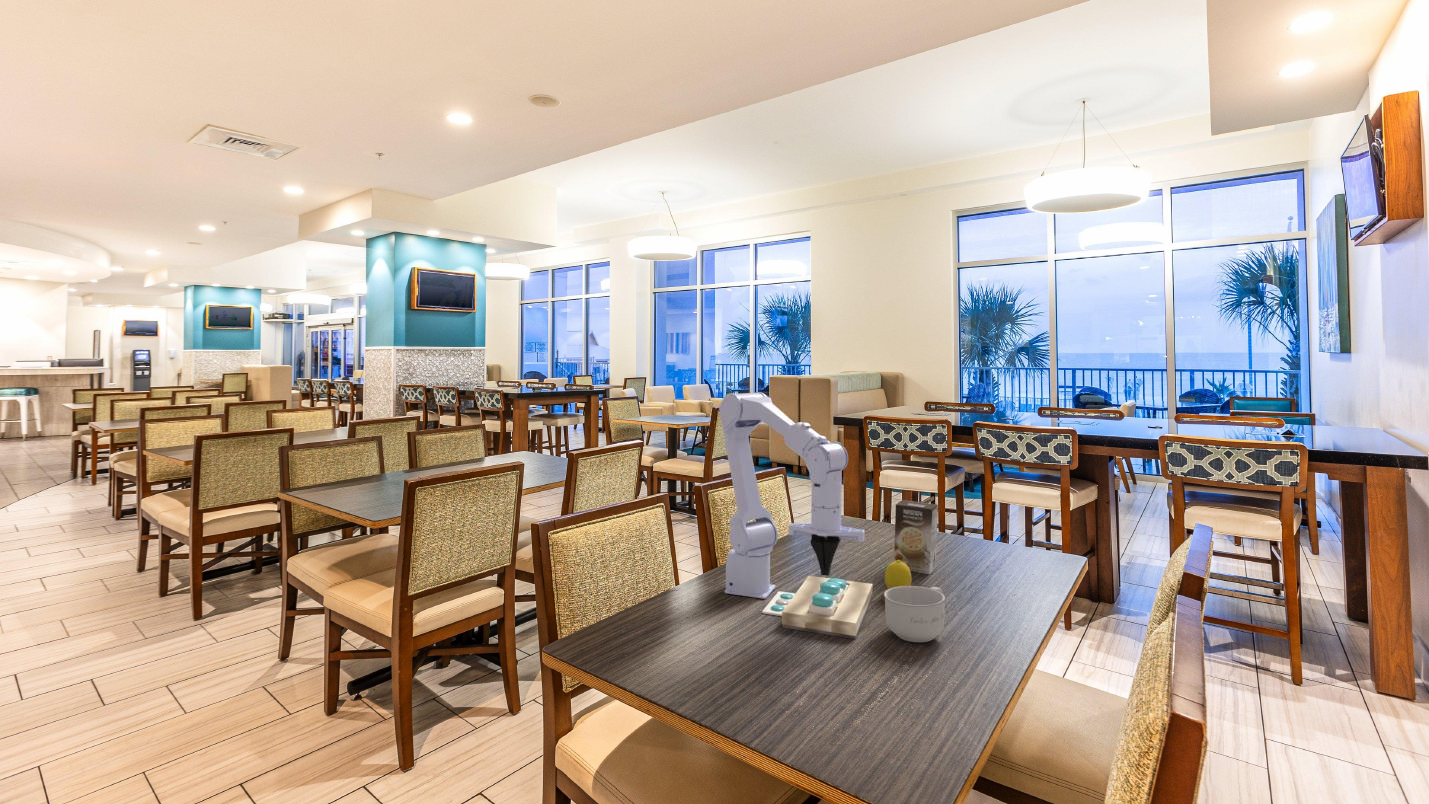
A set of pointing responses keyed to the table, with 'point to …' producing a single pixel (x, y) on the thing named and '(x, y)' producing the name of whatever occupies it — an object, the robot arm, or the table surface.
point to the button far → (840, 582)
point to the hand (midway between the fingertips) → (825, 573)
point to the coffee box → (916, 535)
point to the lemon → (897, 575)
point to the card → (778, 603)
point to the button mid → (832, 590)
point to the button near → (822, 604)
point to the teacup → (915, 612)
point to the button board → (840, 624)
